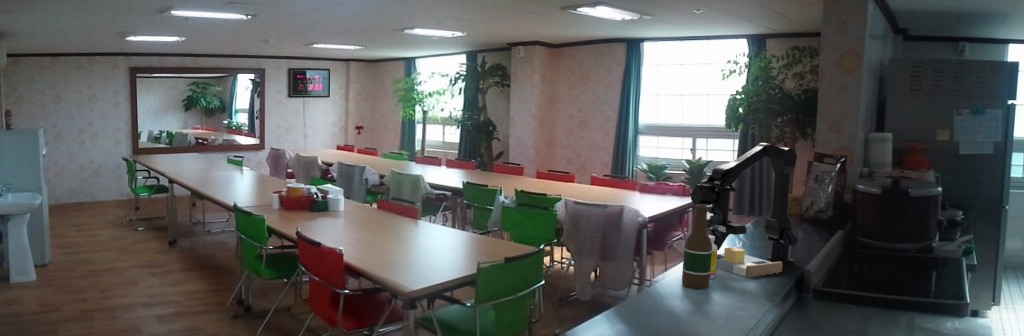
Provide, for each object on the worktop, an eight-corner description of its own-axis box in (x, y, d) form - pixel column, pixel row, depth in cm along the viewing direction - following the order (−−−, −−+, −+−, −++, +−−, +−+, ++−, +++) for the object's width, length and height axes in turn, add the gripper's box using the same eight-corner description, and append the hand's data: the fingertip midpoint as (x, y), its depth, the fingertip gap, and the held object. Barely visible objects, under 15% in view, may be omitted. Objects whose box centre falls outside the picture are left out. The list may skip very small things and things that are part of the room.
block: (733, 259, 220) (734, 247, 219) (743, 262, 216) (745, 250, 216) (723, 260, 218) (724, 248, 217) (734, 263, 214) (735, 251, 213)
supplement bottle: (712, 274, 208) (716, 234, 207) (717, 280, 202) (720, 238, 200) (691, 272, 209) (694, 233, 207) (694, 278, 202) (698, 237, 201)
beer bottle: (709, 284, 196) (716, 204, 194) (708, 291, 189) (715, 208, 186) (682, 281, 199) (688, 202, 196) (680, 287, 191) (686, 205, 189)
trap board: (735, 259, 231) (736, 249, 231) (781, 272, 215) (782, 262, 214) (702, 262, 223) (703, 252, 223) (748, 277, 207) (749, 266, 206)
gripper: (683, 201, 226) (679, 245, 227) (725, 210, 210) (721, 258, 211) (706, 199, 231) (702, 243, 233) (749, 208, 215) (745, 255, 217)
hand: (717, 250), depth 223 cm, fingers closed
